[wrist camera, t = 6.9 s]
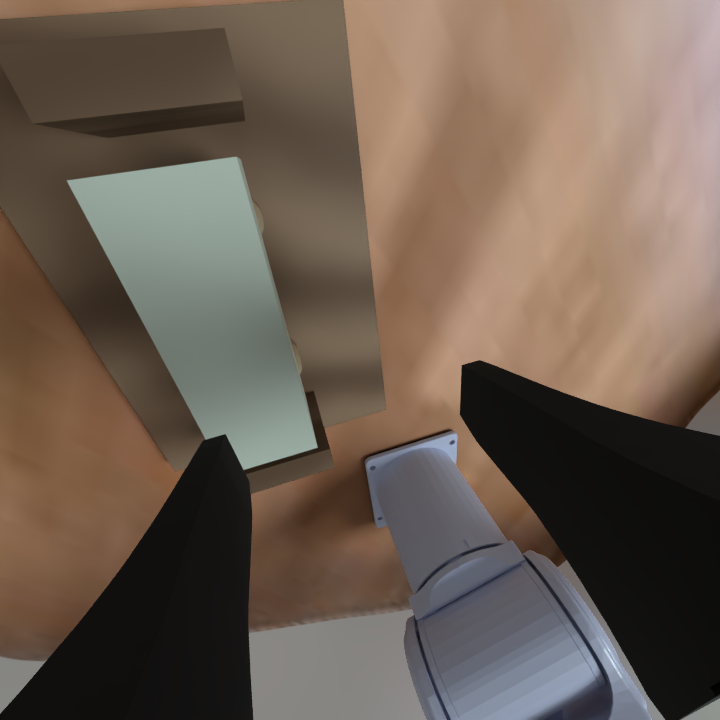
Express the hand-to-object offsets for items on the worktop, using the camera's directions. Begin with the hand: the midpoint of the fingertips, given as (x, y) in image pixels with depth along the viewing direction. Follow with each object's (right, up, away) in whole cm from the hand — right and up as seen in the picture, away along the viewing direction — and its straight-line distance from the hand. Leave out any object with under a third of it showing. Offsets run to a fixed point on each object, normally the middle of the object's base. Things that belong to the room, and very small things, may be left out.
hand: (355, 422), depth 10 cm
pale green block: (-5, +4, +5) cm, 8 cm away
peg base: (-6, +6, +7) cm, 11 cm away
